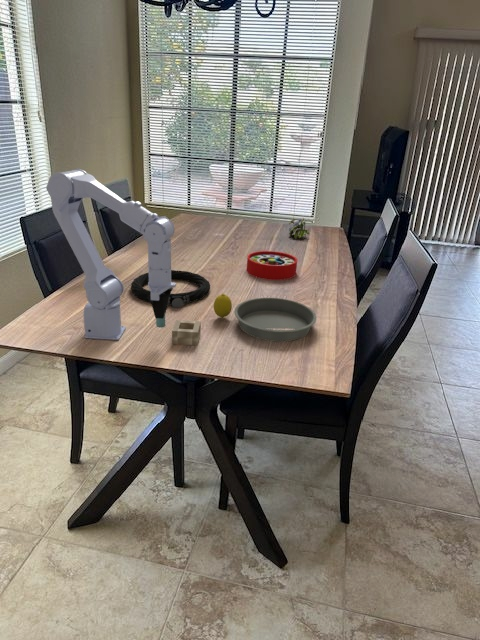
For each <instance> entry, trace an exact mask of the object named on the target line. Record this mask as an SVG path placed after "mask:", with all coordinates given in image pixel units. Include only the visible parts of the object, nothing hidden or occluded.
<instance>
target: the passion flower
mask: <svg viewBox="0 0 480 640" xmlns="http://www.w3.org/2000/svg"><path fill="white" fill-rule="evenodd" d="M294 221H296V218H294V219H291V220H290V222H289V223H288V225H291V224H292V226H290V227H289V228H288V231H289V233H288V235H289V236H290V237H291V236H293V235H294V239H295V240H297V237H298V239H300V238H303V237H305V238H306V235H310V232H309V231H310V228H308V229H306V221H305V218H302V219H299V220H298V221H296V222H294Z"/></svg>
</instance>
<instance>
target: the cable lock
mask: <svg viewBox="0 0 480 640" xmlns="http://www.w3.org/2000/svg"><path fill="white" fill-rule="evenodd" d="M171 280H175V281H179V280H180V281H184V282H190V283H193V284H195V285H197V286H199V287H198V288H197V289H194V290H191V291H187V292H179V293H170V296H169V299H168V304H167V306H171V308H174V309H180V308H182V307H183V306H184V305H188V304H189V303H193V302H195V301H199V300H202V299H203V298H204V297H206V296H207V295H208V294H209V293H210V291H211V284H210V281H209V280H207V279H206V278H205V276H202V275H200V274H198V273H194V272H191V271H184V270H173V269H171ZM148 282H149V272H145V273H143V274H141V275H139V276H137V277H135V278H134V279H133V281H132V282H131V283H130V289H131V292H132V293H133V294H134V295H135V297H137V298H138V299H141V300H142V301H146V302H149V303H151V302H150V301H149V299H148V297H147V293H148V292H150V289H149V290H148V289H146V288H144V287H143V286H144V285H146V284H148Z"/></svg>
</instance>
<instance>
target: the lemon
mask: <svg viewBox="0 0 480 640" xmlns="http://www.w3.org/2000/svg"><path fill="white" fill-rule="evenodd" d="M232 307H233V304H232V300H231V298H230V297H229V296H228V295H227V294H225V293H221V294H219V295H217V296H216V297H215V299H214V302H213V311H214V313H215V314H216V316H218V317H220V319H224V318H225V317H228V316H229V315H230V314H231V312H232V309H233V308H232Z"/></svg>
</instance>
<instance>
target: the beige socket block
mask: <svg viewBox="0 0 480 640" xmlns="http://www.w3.org/2000/svg"><path fill="white" fill-rule="evenodd" d="M201 325H202V323H201V320H200V321H197V320H181V319H175V322H174V324H173V327H172V328H171V345H179V346H180V345H183V346H184V345H185V346H198V345H199V343H200V338H201Z"/></svg>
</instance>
